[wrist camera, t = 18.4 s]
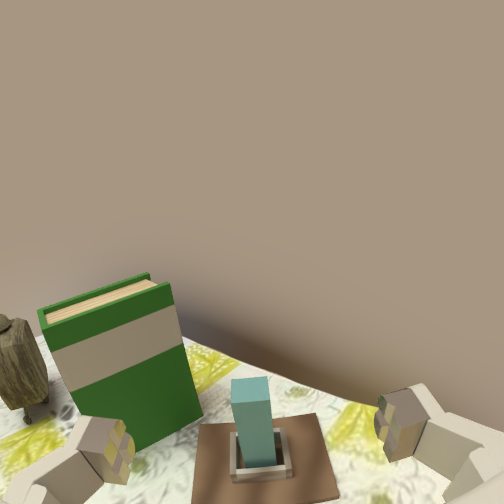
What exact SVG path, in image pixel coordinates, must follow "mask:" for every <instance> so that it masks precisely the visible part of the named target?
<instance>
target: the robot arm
mask: <svg viewBox="0 0 504 504" xmlns="http://www.w3.org/2000/svg"><path fill="white" fill-rule="evenodd" d="M377 405H378V407H379V410H378V411H377V412H376V413H375V417H374V428H375V431H376V434H377V437H378V439H380V440H382V441H383V442H385V443H384V446H383V450H384V452H385V454H386V456H387V459H388V461H389V463H391V462H394V461H397V460H401V459H404V458H407V457H410V456H413V457H414V458H416V459H417V460H419V461H420V462H422V463H423V464H425V465H426V466H428V467H430V468H431V469H433V470H434V471H436V472H438V473H439V474H441V475H442V476H444V477H446V478H447V479H449V480H451V483H450V484H449V486H448V487H447V488H446V490H445V491H444V493H443V495H442V496H443V498H444V500H445V502H446V503H444V504H504V433H503V432H500V431H497V430H494V429H491V428H489V427H486V426H484V425H481V424H478V423H476V422H473V421H470V420H468V419H465V418H463V417H460V416H458V415H455V414H453V413H450V412H448V413H445V412H444V411H443V410H442V408H441V407H440V405H439V404H438V403H437V401H436V400H435V399H434V397H433V396H432V395H431V393H430V392H429V390H428V389H427V388H426V386H425V385H424V384H422V383H420V384H417V385H414V386H411V387H408V388H404V389H400V390H397V391H394V392H390V393H387V394H383V395H380V396H379V398H378V402H377ZM125 429H126V426H125V424H124V422H123V420H119V419H109V418H101V417H92V416H85V415H82V416H80V417H79V418H78V420H77V422H76V424H75V425H74V427H73V429H72V431H71V433H70V435H69V437H68V439H67V441H66V443H65V445H64V447H59V448H57V449H56V450H54V451H52V452H51V453H49V454H48V455H46V456H44V457H43V458H41V459H40V460H38V461H36V462H35V463H33V464H31V465H30V466H28V467H27V468H25V469H23V470H22V471H20V472H18V473H17V474H15V475H14V477H13V479H12V481H11V483H10V484H9V486H8V488H7V490H6V492H5V494H4V496H3V498H2V500H1V499H0V504H83V503H84V502H85V501H87V500H88V499H89V498H90V497H91V496H92V495H93V494H94V493H95V492H96V491H97V490H98V489H99V488H100V487H101V486H102V485H103V484H104V482H106V483H112V484H120V485H127V481H128V478H129V474H130V471H131V470H130V469H129V467H128V465H129V464H130V463H131V462H132V461H133V460H134V456H135V444H134V441H133V439H132V437H131V435H129V434H128V433H127V432H125Z"/></svg>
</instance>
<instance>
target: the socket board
mask: <svg viewBox="0 0 504 504" xmlns="http://www.w3.org/2000/svg"><path fill="white" fill-rule="evenodd" d="M272 423H273V433H274V443H275V453H276V463H277V466H270V467H260V468H248V469H246V468H245V464H244V460H243V455H242V451H241V447H240V443H239V438H238V434H237V429H236V425H235V423H219V424H200V428H199V436H198V445H197V453H196V462H195V471H194V481H193V490H192V500H191V504H314V503H319V502H324V501H329V500H334V499H338V498H339V493H338V489H337V486H336V482H335V479H334V475H333V472H332V468H331V464H330V461H329V457H328V454H327V450H326V447H325V443H324V440H323V436H322V433H321V429H320V426H319V423H318V419H317V416H316V413H311V414H305V415H298V416H292V417H284V418H276V419H272Z"/></svg>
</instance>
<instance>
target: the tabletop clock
mask: <svg viewBox="0 0 504 504" xmlns="http://www.w3.org/2000/svg"><path fill="white" fill-rule="evenodd" d="M48 393H49V386H48V375H47V368H46V365H45V362H44V360H43V357H42V355H41V353H40V350H39V348H38V345H37V343H36V341H35V338H34V336H33V333H32V331H31V328H30V326H29V324H28V322H27V320H23V319H20V318H15V319H12V320H9V319H8V318H7V317H6V316H5V315H3V314H0V396H1V398H2V400H3V401H4V402H5V404H6V405H7V407H8V408H9V409H10V410H15V409H19V408H23V407H24V411H25V417H24V418H23V420H24V422H25V423H26V424H30V422H31V419H30V417H28V406H30V405H33V404H37V403H40V402H42V401H43V402H44V403H48V401H49V398H48V397H47V395H48Z"/></svg>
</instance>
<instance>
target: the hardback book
mask: <svg viewBox="0 0 504 504" xmlns="http://www.w3.org/2000/svg"><path fill="white" fill-rule="evenodd" d="M37 313H38V317H39V321H40V326H41V330H42V332H43V335H44V338H45V340H46V342H47V345H48V347H49V350H50V352H51V354H52V357H53V359H54V361H55V363H56V366H57V368H58V370H59V372H60V374H61V376H62V378H63V381H64V383H65V385H66V387H67V389H68V391H69V393H70V394H71V396H72V398H73V400H74V402H75V404H76V406H77V408H78V409H79V411H80V413H81V415H85V416H92V417H101V418H109V419H119V420H123V422H124V424H125V426H126V429H125V432H127V433H128V434H129V435H131V437H132V439H133V441H134V444H135V453H136V452H138V451H140V450H142V449H144V448H146V447H148V446H150V445H152V444H154V443H156V442H157V441H159V440H161V439H163V438H165V437H167V436H169V435H171V434H172V433H174V432H176V431H178V430H180V429H181V428H183V427H185V426H187V425H188V424H190V423H192V422H194V421H195V420H197V419H199V418H200V417H202V416H203V413H202V410H201V406H200V403H199V400H198V396H197V393H196V389H195V386H194V382H193V378H192V375H191V371H190V367H189V363H188V359H187V356H186V352H185V348H184V344H183V340H182V335H181V331H180V328H179V323H178V318H177V314H176V309H175V305H174V301H173V296H172V291H171V286H170V283H168V282H164V283H162V284H159V285H157V284H155V283H153V282H151V279H150V274H149V273H147V272H146V273H143V274H140V275H137V276H134V277H131V278H128V279H125V280H122V281H119V282H116V283H114V284H111V285H108V286H105V287H102V288H99V289H96V290H93V291H90V292H87V293H84V294H81V295H78V296H76V297H73V298H70V299H67V300H64V301H61V302H58V303H56V304H53V305H50V306H47V307H44V308H41V309H38V310H37Z"/></svg>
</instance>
